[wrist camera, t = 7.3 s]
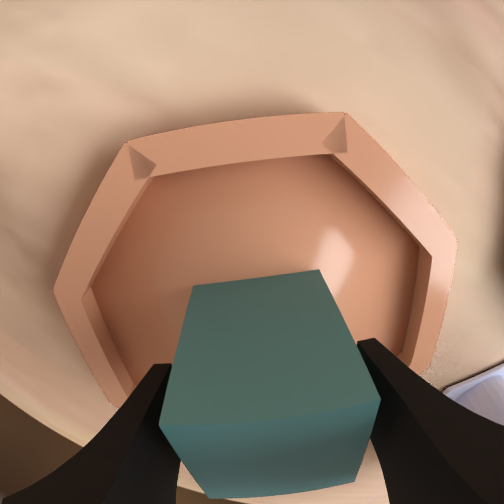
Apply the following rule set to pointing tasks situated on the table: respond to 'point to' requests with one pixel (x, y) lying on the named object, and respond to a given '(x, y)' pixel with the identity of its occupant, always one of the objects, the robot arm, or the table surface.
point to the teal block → (268, 389)
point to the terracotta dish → (252, 238)
